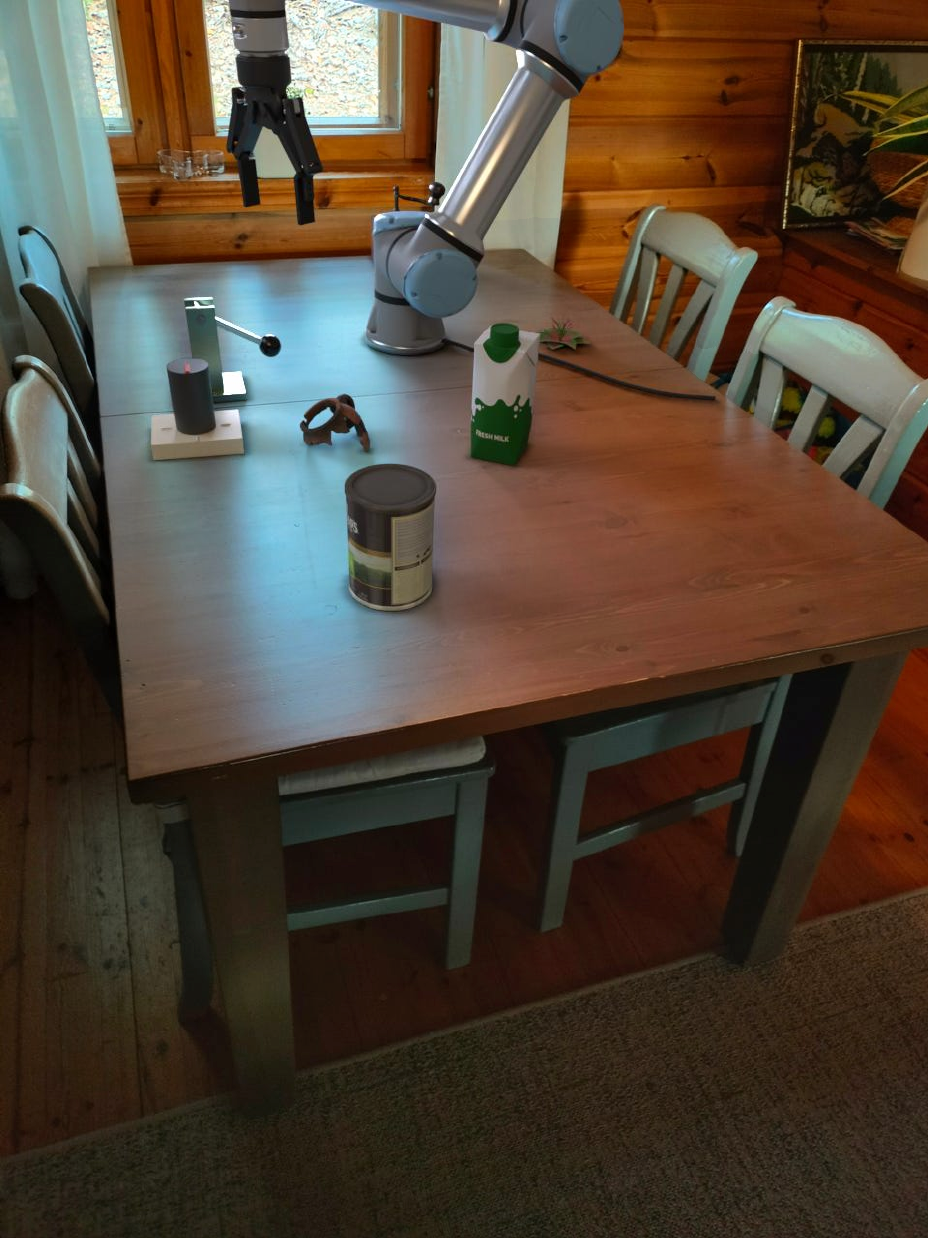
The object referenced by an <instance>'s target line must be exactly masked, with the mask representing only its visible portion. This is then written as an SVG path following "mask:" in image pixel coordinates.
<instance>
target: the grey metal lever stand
mask: <svg viewBox="0 0 928 1238" xmlns="http://www.w3.org/2000/svg"><path fill="white" fill-rule="evenodd" d="M194 302H197V303H199V304H201V305H203V306H196V307H192V306H193V304H194ZM183 304H184V309H185V310H184V311H185V317H186V323H187V332H188V336H189V337H188V338H189V345H190V352H191V358H198V359H202V360H204V361H206V362H207V363H208V367H209V375H210V382H211V390H212V397H213V403H223V402H224V403H225V402H235V401H236V402H237V401H247V399H248V398H247V397H248V396H247V391H246V387H245V383H244V379H243V375H242V372H241V371H233V372H223V366H222V357H221V349H220V342H219V335H218V334H219V333H218V326H217V324H216V317H217V316H216V309H215V305H214V300H213V297H212V296H207V297H205V296H204V297H187V298H186V297H185V298H183Z"/></svg>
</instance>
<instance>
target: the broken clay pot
mask: <svg viewBox="0 0 928 1238" xmlns="http://www.w3.org/2000/svg"><path fill="white" fill-rule="evenodd" d="M328 408H329V412H331V413H332V416H331V417H330V418H329V419H328V420H327V421H325V422H324V423H323V424H320V425H319V426H316V427H313V428H309V427H310V424H311V422H312V421H313V420H314V419H315V417H317V416H318V415H320V414H321V413H322V412H324V411H326V410H328ZM303 418H304V419H305V420H306V421H305V420H304V419H303V420H301V422H300V423H299V429H300V431H301V432H302V440H303V442H304V443H305V444H306V445H309V446H318V445H321V444H326V445H329V446H333V443H332V432H333V433H335V434H344V435H347V434H349V433H350V432H351V429H352V428H354V430H355V433H356V437H357V438H361V439H360V440H359V442H360V444H361V445H362V449H363V452H365V453H367V452H368V451H369V449H370V446H371V439H370V438H369V432H368V431H367V428H366V425H365V423H364V420H363V419H362V416H361V415H360V414H359V413H358V412H357V410H356V405H355V400H354V399H353V398H352V396H350V395H349V394H348V393H342V394H339V395H337V396H336V397H328V398H323V399H321V400H318V401H317V402H315V403H314V404H313V405H312V406H311V407H309V408H308V409H307V410H306V411H305V413H304V414H303Z"/></svg>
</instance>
